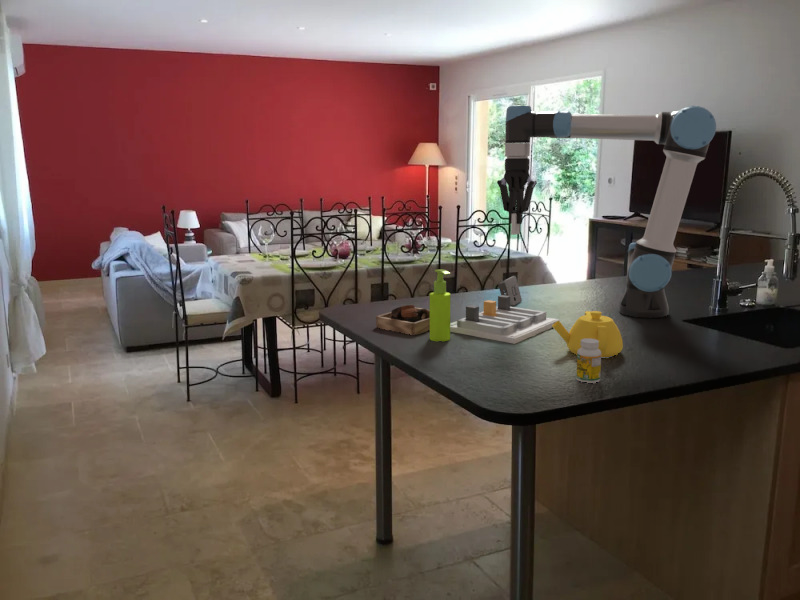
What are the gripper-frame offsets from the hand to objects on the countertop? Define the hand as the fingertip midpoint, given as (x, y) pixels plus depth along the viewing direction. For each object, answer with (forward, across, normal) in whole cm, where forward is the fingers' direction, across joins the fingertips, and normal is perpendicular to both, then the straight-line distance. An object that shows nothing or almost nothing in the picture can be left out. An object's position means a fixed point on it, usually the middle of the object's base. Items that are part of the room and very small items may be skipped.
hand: (515, 234), depth 218 cm
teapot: (+27, -36, +24) cm, 51 cm away
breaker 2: (+25, 0, +6) cm, 26 cm away
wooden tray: (+26, +18, +30) cm, 44 cm away
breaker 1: (+25, 0, +24) cm, 35 cm away
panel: (+26, -5, +15) cm, 31 cm away
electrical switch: (+27, +10, -15) cm, 32 cm away
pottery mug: (+27, +17, +32) cm, 45 cm away
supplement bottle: (+27, -46, +45) cm, 70 cm away
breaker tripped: (+25, 0, +15) cm, 29 cm away
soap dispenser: (+27, +2, +37) cm, 46 cm away
